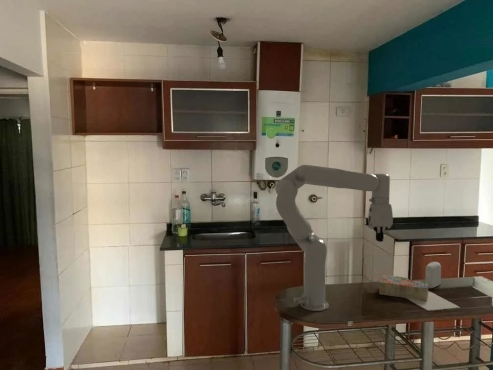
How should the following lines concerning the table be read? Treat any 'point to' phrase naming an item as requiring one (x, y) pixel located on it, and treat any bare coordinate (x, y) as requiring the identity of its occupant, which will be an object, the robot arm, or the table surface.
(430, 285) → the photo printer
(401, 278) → the stack of blocks
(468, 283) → the table surface
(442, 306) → the mat
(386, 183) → the robot arm
